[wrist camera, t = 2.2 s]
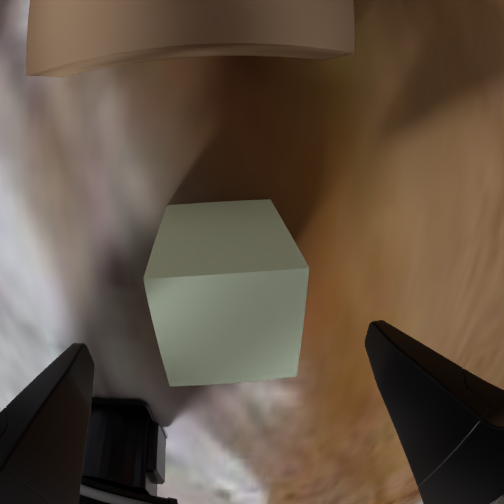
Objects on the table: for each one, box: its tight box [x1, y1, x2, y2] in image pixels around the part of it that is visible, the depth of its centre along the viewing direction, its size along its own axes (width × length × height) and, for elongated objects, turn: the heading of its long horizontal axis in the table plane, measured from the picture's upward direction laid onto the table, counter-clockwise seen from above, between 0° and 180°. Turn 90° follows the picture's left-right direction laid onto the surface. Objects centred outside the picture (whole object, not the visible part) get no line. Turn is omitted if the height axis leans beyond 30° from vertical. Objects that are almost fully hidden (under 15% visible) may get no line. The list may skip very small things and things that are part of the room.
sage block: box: [143, 199, 309, 386], centre depth 12 cm, size 4×4×6 cm
